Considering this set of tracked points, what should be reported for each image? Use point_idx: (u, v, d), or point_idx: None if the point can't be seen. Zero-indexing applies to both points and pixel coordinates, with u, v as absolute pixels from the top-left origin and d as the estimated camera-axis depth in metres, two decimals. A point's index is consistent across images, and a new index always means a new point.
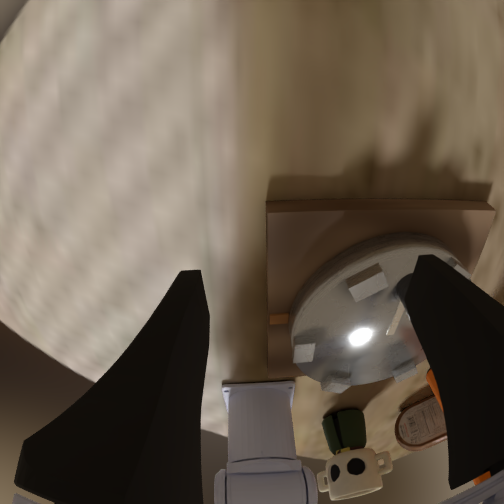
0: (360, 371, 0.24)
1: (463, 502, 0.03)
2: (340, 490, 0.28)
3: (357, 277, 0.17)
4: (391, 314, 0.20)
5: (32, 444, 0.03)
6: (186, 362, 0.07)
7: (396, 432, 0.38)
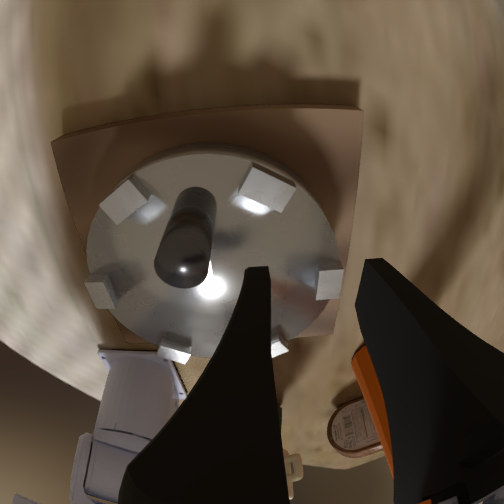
0: (201, 337, 0.20)
1: None
2: None
3: (110, 192, 0.14)
4: None
5: (141, 470, 0.03)
6: None
7: (328, 433, 0.35)
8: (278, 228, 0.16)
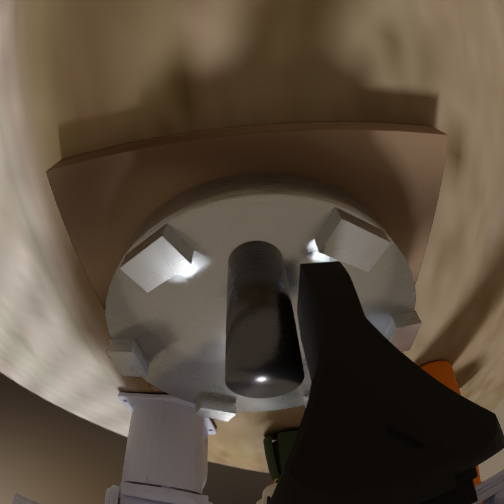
0: None
1: None
2: None
3: (135, 250, 0.10)
4: None
5: (306, 471, 0.03)
6: None
7: None
8: (355, 284, 0.12)
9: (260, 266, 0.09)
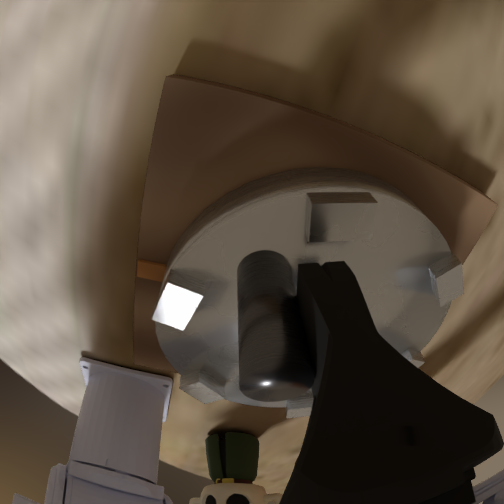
0: None
1: None
2: None
3: (157, 299, 0.12)
4: None
5: (317, 469, 0.03)
6: None
7: None
8: (372, 253, 0.11)
9: (255, 278, 0.10)
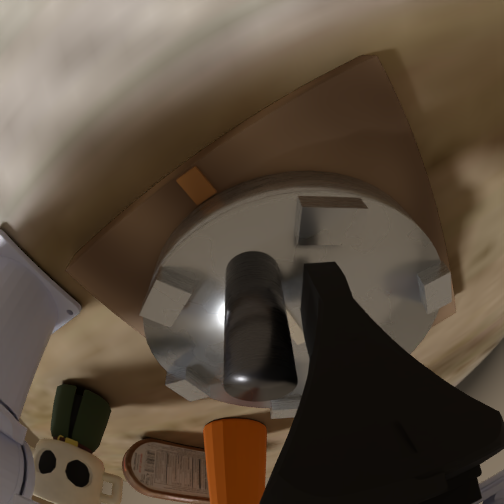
0: None
1: None
2: (47, 491, 0.14)
3: (146, 296, 0.12)
4: None
5: (295, 472, 0.03)
6: None
7: (128, 457, 0.29)
8: (361, 257, 0.12)
9: (243, 278, 0.10)
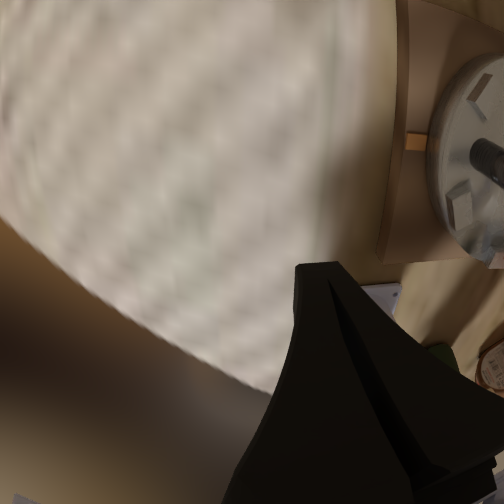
0: None
1: None
2: None
3: (450, 217, 0.15)
4: None
5: (254, 476, 0.03)
6: None
7: (480, 379, 0.30)
8: None
9: (485, 157, 0.12)
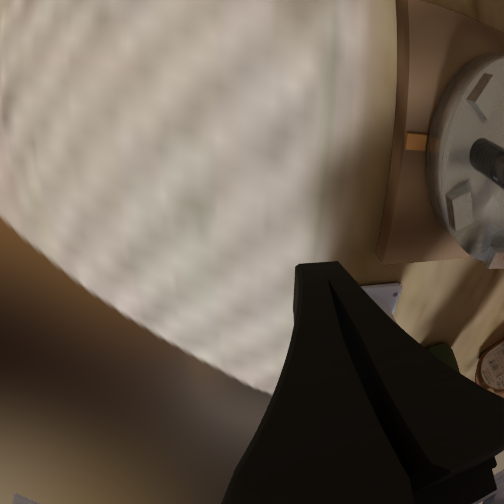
0: None
1: None
2: None
3: (450, 217, 0.15)
4: None
5: (254, 476, 0.03)
6: None
7: (480, 379, 0.30)
8: None
9: (485, 157, 0.12)
